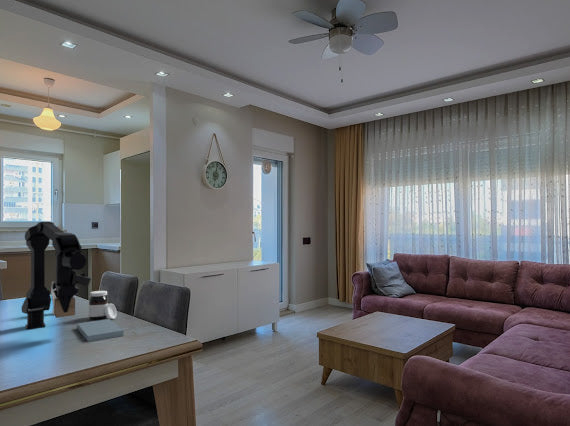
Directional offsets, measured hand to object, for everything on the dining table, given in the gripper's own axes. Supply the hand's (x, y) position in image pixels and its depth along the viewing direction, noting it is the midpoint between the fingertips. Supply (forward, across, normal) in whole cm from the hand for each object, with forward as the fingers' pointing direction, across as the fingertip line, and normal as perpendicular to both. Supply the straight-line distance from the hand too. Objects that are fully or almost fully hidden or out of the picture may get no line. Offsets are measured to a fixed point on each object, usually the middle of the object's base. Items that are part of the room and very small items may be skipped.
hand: (64, 310), depth 141 cm
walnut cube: (+2, 0, 0) cm, 2 cm away
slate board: (+10, 0, -12) cm, 15 cm away
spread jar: (+10, +23, -18) cm, 31 cm away
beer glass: (+10, +46, -4) cm, 47 cm away
